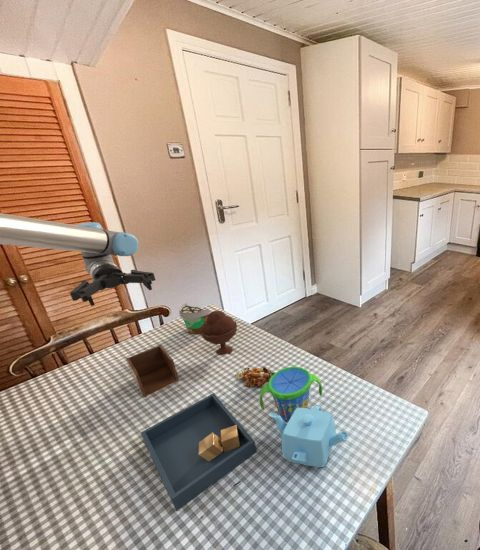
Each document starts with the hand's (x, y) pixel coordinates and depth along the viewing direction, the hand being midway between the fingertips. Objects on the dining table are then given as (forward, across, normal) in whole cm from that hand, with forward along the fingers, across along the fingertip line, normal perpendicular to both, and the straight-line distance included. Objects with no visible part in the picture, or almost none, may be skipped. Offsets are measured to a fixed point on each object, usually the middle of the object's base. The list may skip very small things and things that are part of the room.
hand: (122, 293), depth 87 cm
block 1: (+48, -3, -22) cm, 53 cm away
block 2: (+49, -5, -24) cm, 55 cm away
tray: (+43, 0, -26) cm, 50 cm away
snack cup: (+50, -21, -26) cm, 60 cm away
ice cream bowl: (+11, -20, -26) cm, 35 cm away
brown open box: (+10, 0, -26) cm, 28 cm away
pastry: (+31, -20, -26) cm, 45 cm away
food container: (-9, -18, -26) cm, 33 cm away
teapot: (+63, -16, -26) cm, 70 cm away
